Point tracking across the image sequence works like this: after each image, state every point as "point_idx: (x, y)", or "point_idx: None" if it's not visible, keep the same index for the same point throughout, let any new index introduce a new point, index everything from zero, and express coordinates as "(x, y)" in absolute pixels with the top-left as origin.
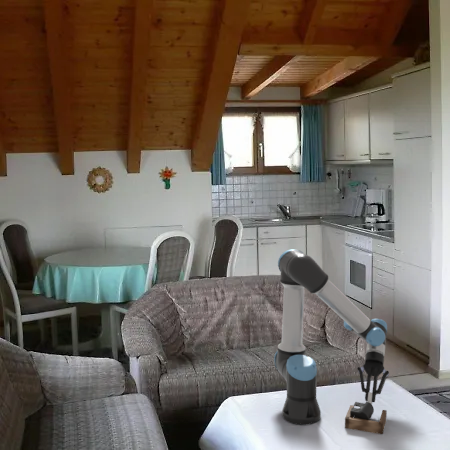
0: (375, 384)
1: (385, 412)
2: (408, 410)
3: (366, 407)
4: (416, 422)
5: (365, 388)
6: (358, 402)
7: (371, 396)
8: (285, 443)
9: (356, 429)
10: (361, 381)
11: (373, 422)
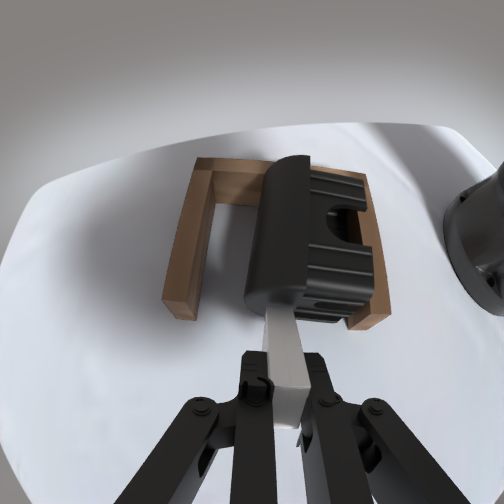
0: (243, 467)
1: (170, 270)
2: (70, 442)
3: (289, 209)
4: (52, 320)
5: (351, 423)
6: (355, 285)
7: (273, 360)
8: (431, 130)
9: None
10: (423, 457)
11: (239, 160)
